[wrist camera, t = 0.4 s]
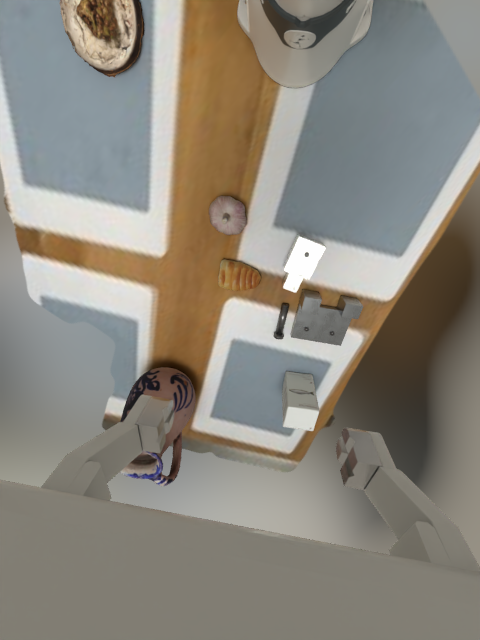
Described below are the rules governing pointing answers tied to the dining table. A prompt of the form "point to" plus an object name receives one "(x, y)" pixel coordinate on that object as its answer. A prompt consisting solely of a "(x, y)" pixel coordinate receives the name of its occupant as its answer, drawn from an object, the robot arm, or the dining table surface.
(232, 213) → the garlic bulb
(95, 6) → the brown flat two-tone disc
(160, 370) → the ceramic pitcher
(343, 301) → the gunmetal leaf
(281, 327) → the hinge pin
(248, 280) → the pastry
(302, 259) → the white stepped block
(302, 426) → the supplement box
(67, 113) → the dining table surface
